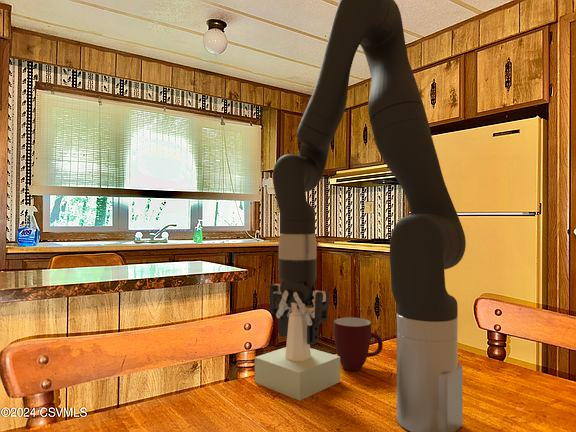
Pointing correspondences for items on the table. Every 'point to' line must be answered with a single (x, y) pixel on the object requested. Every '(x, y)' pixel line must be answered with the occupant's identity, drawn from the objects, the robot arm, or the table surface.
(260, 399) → the table surface
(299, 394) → the sage box
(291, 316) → the salt shaker
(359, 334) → the mug
